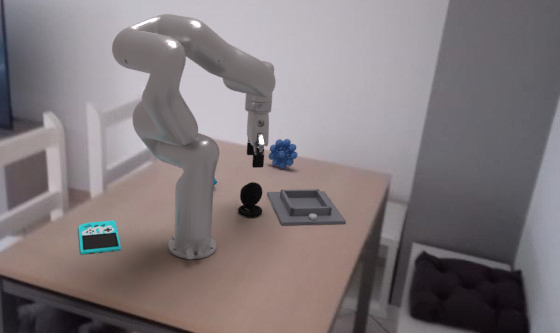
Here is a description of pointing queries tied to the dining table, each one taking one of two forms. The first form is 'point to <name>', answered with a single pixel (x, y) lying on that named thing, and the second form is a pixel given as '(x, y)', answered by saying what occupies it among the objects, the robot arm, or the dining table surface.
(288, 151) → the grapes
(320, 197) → the housing
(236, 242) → the dining table surface
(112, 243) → the handheld game console
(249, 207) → the webcam
